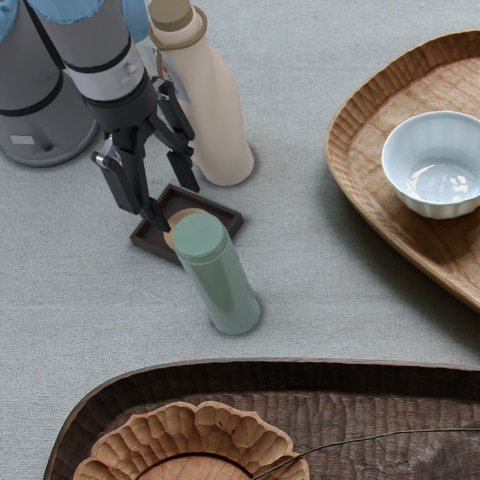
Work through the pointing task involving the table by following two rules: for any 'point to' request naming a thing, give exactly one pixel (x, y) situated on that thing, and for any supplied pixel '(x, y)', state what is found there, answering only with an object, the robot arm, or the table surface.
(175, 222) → the lid
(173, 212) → the lid tray
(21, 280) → the table surface
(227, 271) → the thermos flask
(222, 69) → the water bottle
